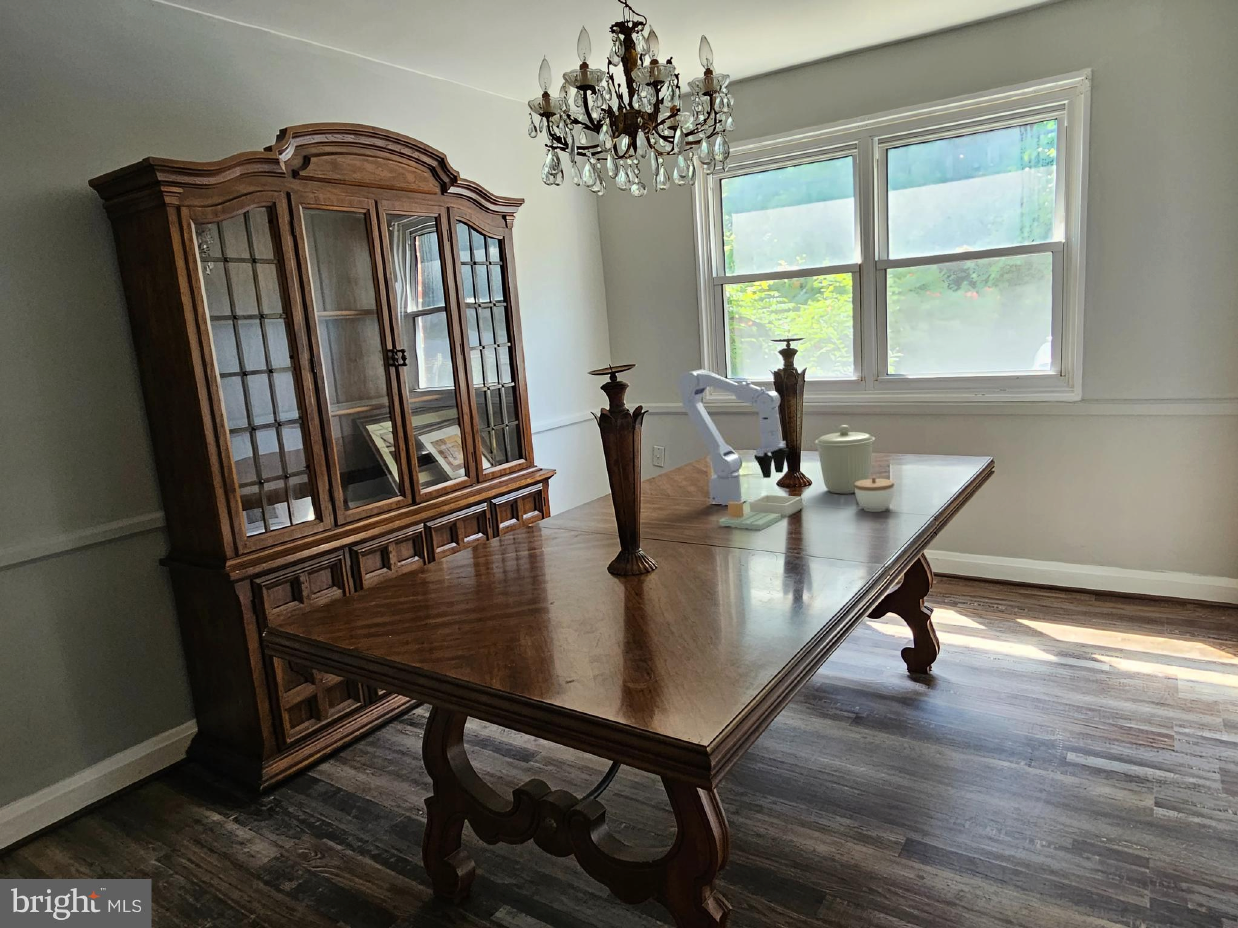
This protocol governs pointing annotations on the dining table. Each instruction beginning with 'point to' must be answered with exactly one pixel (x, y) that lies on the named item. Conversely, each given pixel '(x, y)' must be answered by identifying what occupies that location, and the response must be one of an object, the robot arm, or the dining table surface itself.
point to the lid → (747, 518)
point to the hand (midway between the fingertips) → (773, 475)
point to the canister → (845, 459)
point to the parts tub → (776, 504)
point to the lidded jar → (874, 494)
